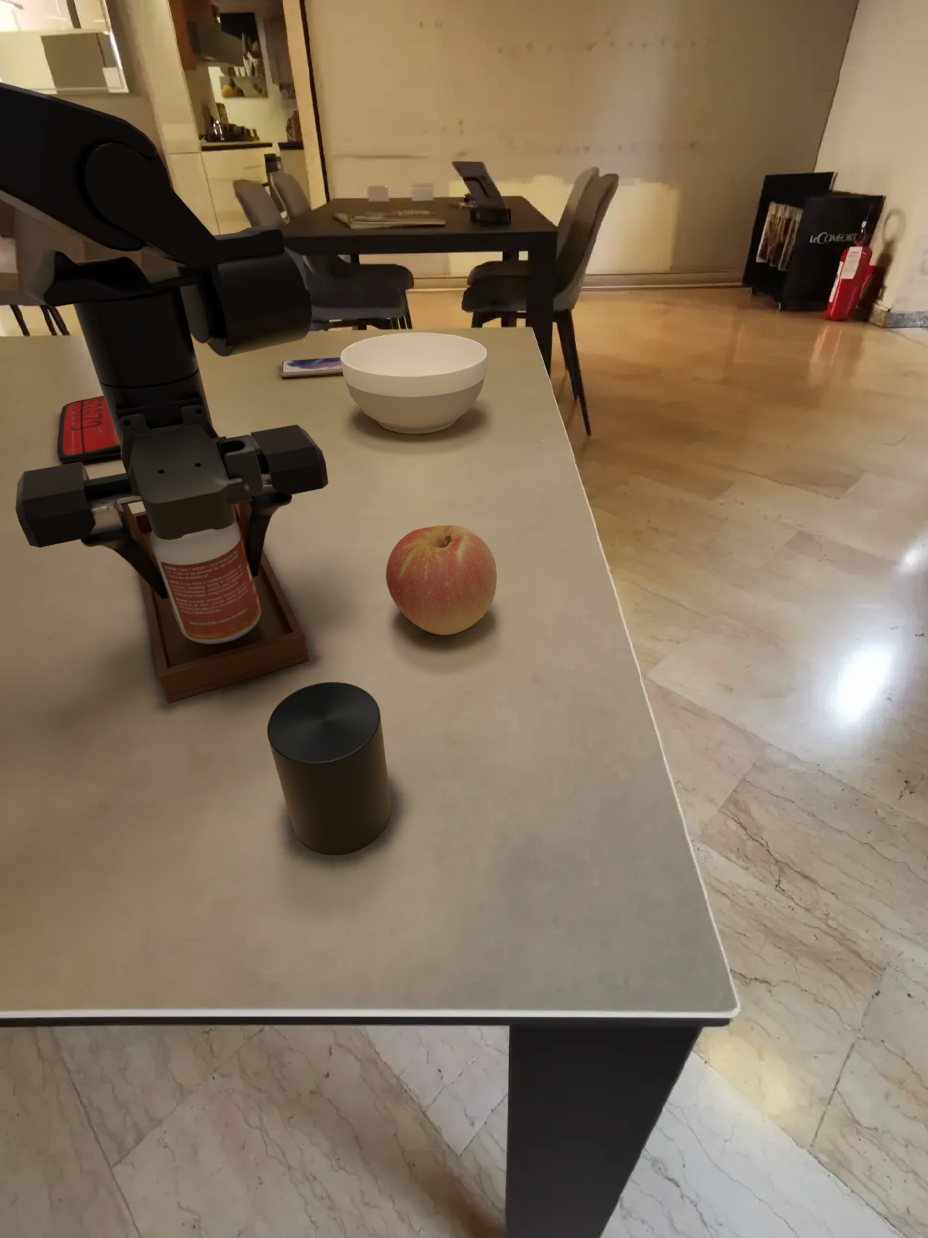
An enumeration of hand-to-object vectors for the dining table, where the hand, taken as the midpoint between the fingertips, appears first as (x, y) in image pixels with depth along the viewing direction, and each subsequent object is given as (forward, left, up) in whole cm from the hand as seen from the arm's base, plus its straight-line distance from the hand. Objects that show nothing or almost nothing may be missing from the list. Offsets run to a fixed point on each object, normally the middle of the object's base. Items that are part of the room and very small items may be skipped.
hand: (210, 585), depth 50 cm
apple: (+16, +7, -6) cm, 18 cm away
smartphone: (-19, +66, -6) cm, 69 cm away
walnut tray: (-5, +6, -6) cm, 10 cm away
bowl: (+1, +49, -6) cm, 50 cm away
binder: (-36, +38, -6) cm, 52 cm away
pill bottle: (0, 0, -4) cm, 4 cm away
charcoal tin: (+15, -13, -6) cm, 20 cm away
